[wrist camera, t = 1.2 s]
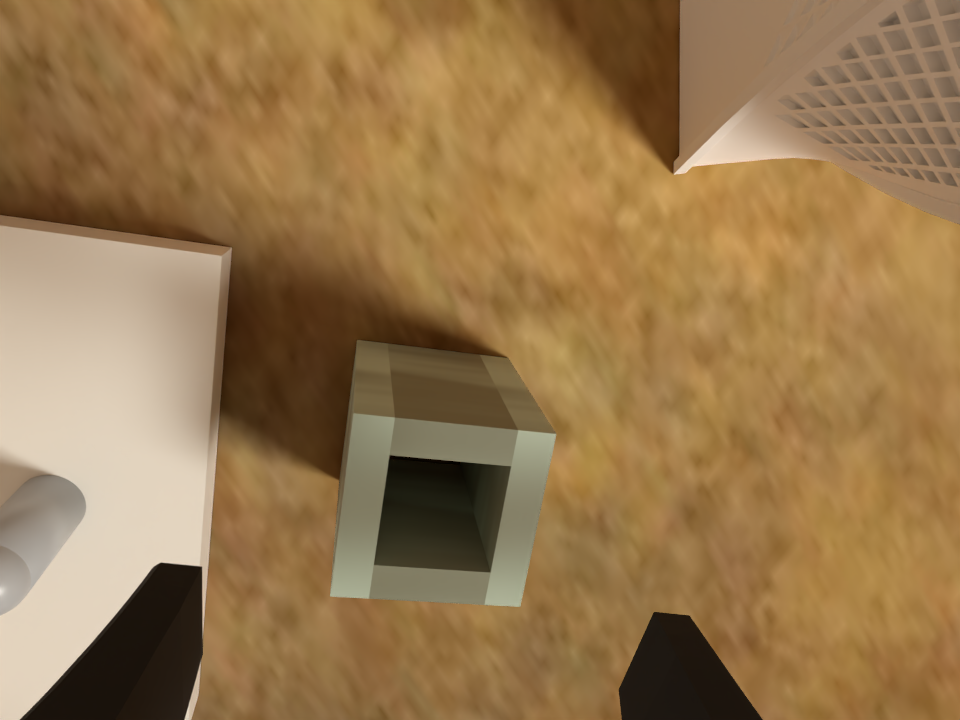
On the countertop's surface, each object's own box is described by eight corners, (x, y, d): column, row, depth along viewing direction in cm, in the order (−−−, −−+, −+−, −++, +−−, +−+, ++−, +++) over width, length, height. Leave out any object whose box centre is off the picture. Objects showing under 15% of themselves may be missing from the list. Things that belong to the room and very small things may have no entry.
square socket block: (483, 493, 24) (520, 606, 18) (339, 481, 23) (330, 596, 17) (508, 358, 22) (556, 433, 17) (357, 339, 21) (353, 413, 16)
